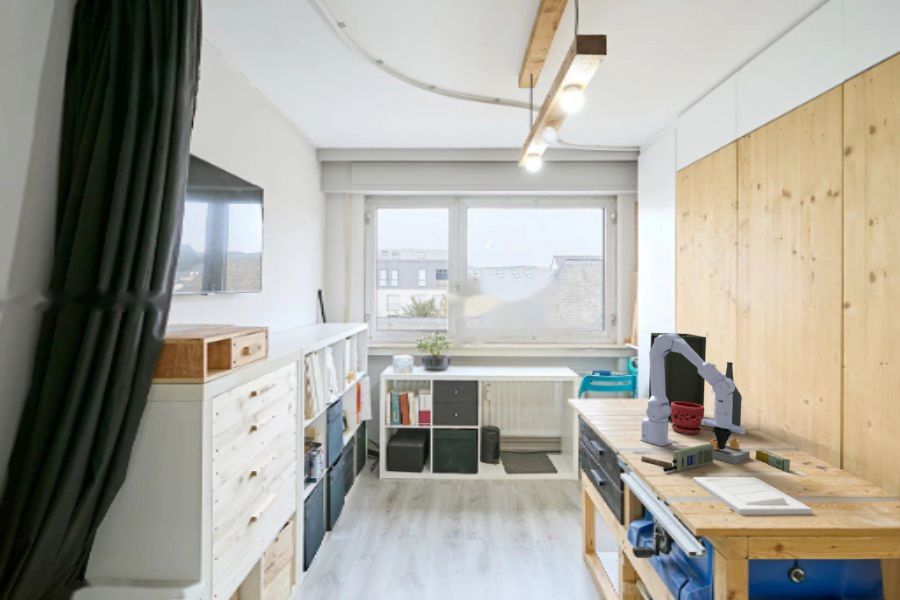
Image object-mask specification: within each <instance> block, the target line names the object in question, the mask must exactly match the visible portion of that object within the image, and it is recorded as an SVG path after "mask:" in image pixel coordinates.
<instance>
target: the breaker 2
mask: <svg viewBox="0 0 900 600" xmlns="http://www.w3.org/2000/svg"><path fill="white" fill-rule="evenodd" d="M740 442H741V440H740V439H737V437H736V438H731V439H729V446H730V448H732V449H736V450H737V449H741V448H740V446H741V445H740V444H741V443H740Z"/></svg>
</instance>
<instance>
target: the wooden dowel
mask: <svg viewBox="0 0 900 600" xmlns="http://www.w3.org/2000/svg"><path fill="white" fill-rule="evenodd" d="M640 458H641V459H640V460H641V462H646V463H648V464H649V463H650V464H653V465H656V466H660V467H663V468H666V467H671V466H673V462H672V463H671V462H668V461H664V460H660V459H656V458H653V457H649V456H645V455H642V456H641V457H640Z"/></svg>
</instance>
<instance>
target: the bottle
mask: <svg viewBox="0 0 900 600" xmlns="http://www.w3.org/2000/svg"><path fill="white" fill-rule="evenodd" d="M733 368H734V367H733V362H731V361H730V362H729V361H727V362H726V371H725V374H724V375H725V376H726V378H730V379H732V381H733V382H734V381H735V379H734V370H733ZM734 383H735V382H734ZM732 393H733V398H732V400H733V405H732V424H733V425H736V426H739V427H742V426H741V421H742V394H741V392H740V391H739V390H738V387H737V386H736V385H735V390H734V391H733V392H732ZM730 394H731V393H730ZM732 433H734V432H733V431H732Z"/></svg>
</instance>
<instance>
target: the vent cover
mask: <svg viewBox="0 0 900 600" xmlns="http://www.w3.org/2000/svg"><path fill="white" fill-rule="evenodd" d="M692 482H693V483H694V484H695V485H696V486H698V487H700V488H701V489H703V491H705V492H707V493H709V494H710V495H711V496H712V497H714V498H716V500H718V501H720V502H721V503H723V504H724V505H725V506H726V507H729V508H730V510H733V511H735V513H737V514H738V515H811V514H813V508H811V507H809V506H807V505H806V504H804V503H803V502H801V501H799V500H797V499H795V498H793V497H791V496H790V495H788V494H786V493H784V492H783V491H781V490H779V489H777V488H775V487H773V486H772V485H770V484H769V483H766V482H764V481H762V480H761V479H759V478H757V477H754V476H751V477H750V476H749V477H747V476H744V477H743V476H739V477H738V476H735V477H734V476H733V477H729V476H728V477H727V476H725V477H723V476H720V477H719V476H713V477H712V476H702V477H700V476H694V477H692Z"/></svg>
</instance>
